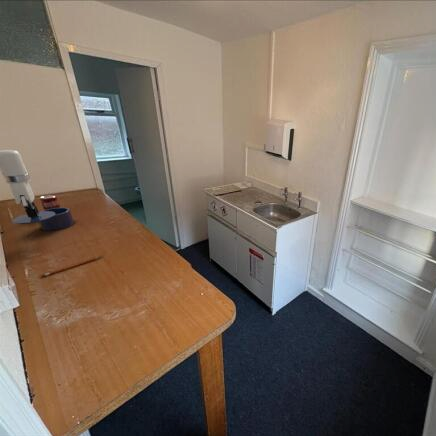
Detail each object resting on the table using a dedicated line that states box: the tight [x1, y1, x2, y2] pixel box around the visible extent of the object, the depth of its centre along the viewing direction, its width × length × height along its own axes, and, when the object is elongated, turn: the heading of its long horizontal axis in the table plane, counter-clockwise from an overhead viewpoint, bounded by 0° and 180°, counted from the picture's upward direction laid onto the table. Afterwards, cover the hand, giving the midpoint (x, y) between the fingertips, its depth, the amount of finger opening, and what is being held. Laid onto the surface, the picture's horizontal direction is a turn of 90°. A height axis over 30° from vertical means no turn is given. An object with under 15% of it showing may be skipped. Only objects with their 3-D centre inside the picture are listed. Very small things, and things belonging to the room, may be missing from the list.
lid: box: [12, 205, 56, 225], centre depth 112 cm, size 15×15×7 cm
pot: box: [38, 207, 75, 232], centre depth 132 cm, size 14×14×8 cm
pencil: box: [42, 256, 101, 278], centre depth 100 cm, size 1×19×1 cm, turn 140°
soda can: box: [39, 194, 61, 211], centre depth 145 cm, size 7×7×12 cm
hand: (33, 215), depth 113 cm, fingers closed on lid, 3 cm apart
